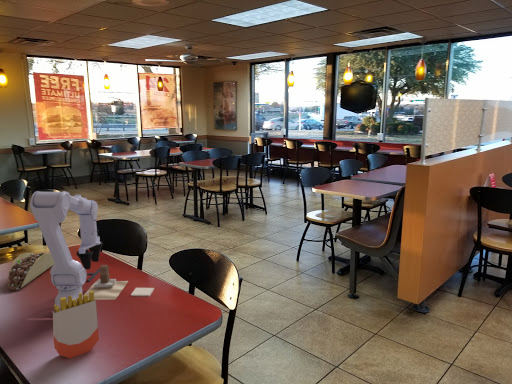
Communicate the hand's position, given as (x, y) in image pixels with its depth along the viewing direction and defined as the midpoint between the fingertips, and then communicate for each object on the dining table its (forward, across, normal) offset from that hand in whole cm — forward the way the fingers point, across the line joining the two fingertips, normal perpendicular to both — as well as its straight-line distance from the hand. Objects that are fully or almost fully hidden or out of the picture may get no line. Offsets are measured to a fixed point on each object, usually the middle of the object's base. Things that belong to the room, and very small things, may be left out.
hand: (91, 265), depth 152 cm
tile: (+9, -7, -20) cm, 24 cm away
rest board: (+10, -2, -6) cm, 11 cm away
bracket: (+10, +13, +11) cm, 20 cm away
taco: (+10, +11, +29) cm, 33 cm away
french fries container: (+10, -41, -12) cm, 44 cm away
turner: (+9, +2, -4) cm, 10 cm away
